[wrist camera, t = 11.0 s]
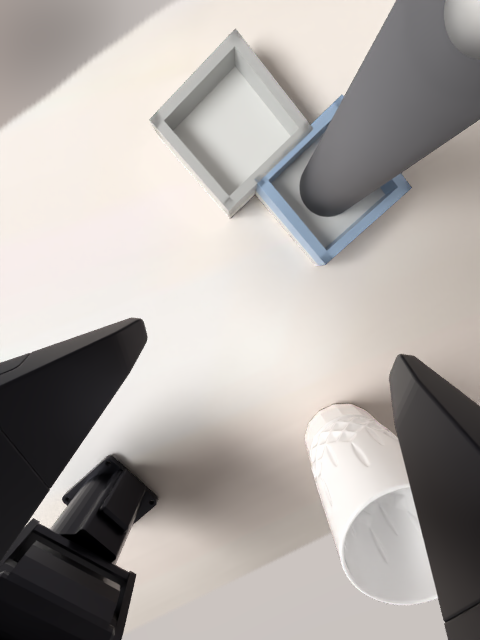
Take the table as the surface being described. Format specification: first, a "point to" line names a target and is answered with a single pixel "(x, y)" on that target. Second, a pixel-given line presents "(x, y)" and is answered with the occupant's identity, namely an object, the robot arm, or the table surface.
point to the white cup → (369, 505)
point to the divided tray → (259, 148)
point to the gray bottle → (399, 103)
